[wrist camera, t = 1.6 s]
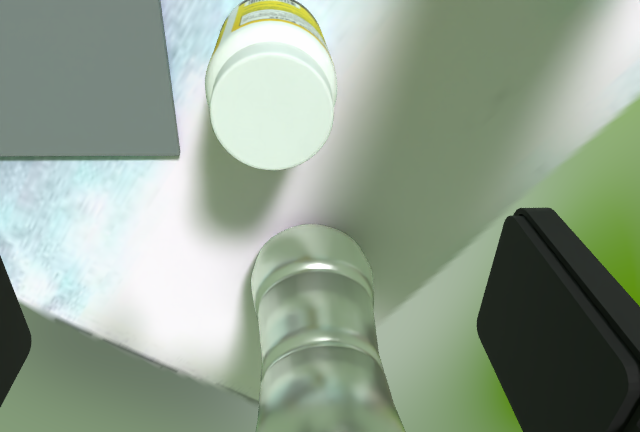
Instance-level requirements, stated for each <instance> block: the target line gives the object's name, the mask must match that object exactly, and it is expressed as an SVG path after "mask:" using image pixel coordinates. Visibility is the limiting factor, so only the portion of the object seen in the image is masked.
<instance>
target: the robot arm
mask: <svg viewBox="0 0 640 432" xmlns="http://www.w3.org/2000/svg"><path fill="white" fill-rule="evenodd" d="M477 331H478V335H479V338H480V340H481V343H482V345H483V347H484V349H485V351H486V353H487V355H488V357H489V360H490V362H491V364H492V366H493V368H494V370H495V373H496V375H497V377H498V379H499V381H500V383H501V385H502V388H503V390H504V392H505V394H506V396H507V398H508V400H509V403H510V405H511V407H512V409H513V411H514V413H515V415H516V417H517V420H518V422H519V424H520V426H521V428H522V430H523V432H640V307H639V305H638V304H637V303H636V302H635V301H634V300H633V299H632V298H631V296H630V295H629V294H628V293H627V292H626V291H625V290H624V289H623V287H622V286H621V285H620V284H619V283H618V282H617V281H616V280H615V278H613V276H612V275H611V274H610V273H609V272H608V271H607V270H606V268H605V267H604V266H603V265H602V264H601V263H600V262H599V261H598V259H597V258H596V257H595V256H594V255H593V254H592V253H591V252H590V250H589V249H588V248H587V247H586V246H585V245H584V244H583V243H582V241H581V240H580V239H579V238H578V237H577V236H576V235H575V234H574V232H573V231H572V230H571V229H570V228H569V227H568V226H567V225H566V223H565V222H564V221H563V220H562V219H561V218H560V217H559V216H558V215H557V213H556V212H555V211H554V210H552V209H551V208H520V209H518V210H516V212H515V213H514V215H513V216H508V217H507V218H506V220H505V222H504V225H503V229H502V233H501V236H500V239H499V243H498V247H497V250H496V254H495V257H494V261H493V265H492V268H491V272H490V275H489V279H488V282H487V286H486V290H485V293H484V297H483V300H482V304H481V308H480V311H479V314H478V318H477ZM30 348H31V334H30V331H29V328H28V326H27V323H26V320H25V318H24V316H23V313H22V310H21V308H20V305H19V302H18V300H17V297H16V295H15V292H14V290H13V287H12V284H11V282H10V279H9V277H8V274H7V272H6V269H5V266H4V264H3V261H2V259H1V256H0V407H1V405H2V403H3V401H4V399H5V397H6V395H7V394H8V392H9V390H10V388H11V386H12V384H13V382H14V380H15V379H16V377H17V374H18V373H19V371H20V369H21V367H22V365H23V363H24V362H25V360H26V358H27V356H28V354H29V351H30Z"/></svg>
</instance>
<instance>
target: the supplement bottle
mask: <svg viewBox="0 0 640 432" xmlns="http://www.w3.org/2000/svg"><path fill="white" fill-rule="evenodd" d="M205 90H206V98H207V102H208V106H209V108H210V119H211V124H212V127H213V130H214V133H215V135H216V137H217V139H218V140H219V142H220V143H221V145H222V146H223V147H224V148H225V149H226V151H227V152H228V153H229V154H231V155H232V156H233V157H234V158H236V159H237V160H239V161H240V162H242V163H244V164H246V165H248V166H251V167H254V168H258V169H263V170H283V169H288V168H292V167H295V166H297V165H300V164H302V163H304V162H305V161H307V160H308V159H310V158H311V157H312V156H314V155H315V154H316V153H317V152H318V151H319V150H320V149H321V147H322V146H323V145H324V143H325V142H326V140H327V138H328V136H329V134H330V131H331V128H332V124H333V118H334V106H335V102H336V96H337V78H336V72H335V68H334V65H333V62H332V59H331V56H330V54H329V51H328V48H327V46H326V43H325V40H324V37H323V35H322V32H321V30H320V27H319V25H318V23H317V21H316V20H315V18H314V17H313V15H312V14H311V13H310V12H309V10H308V9H307V8H305V7H304V6H303V5H302V4H300V3H299V2H297V1H296V0H244V1H243V2H241V3H240V4H238V5H237V6H236V7H235V8H234V9H233V10H232V11H231V13H230V14H229V15H228V17H227V18H226V20H225V22H224V24H223V26H222V28H221V31H220V34H219V37H218V40H217V43H216V46H215V49H214V52H213V54H212V57H211V59H210V62H209V65H208V68H207V71H206V77H205Z"/></svg>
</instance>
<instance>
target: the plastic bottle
mask: <svg viewBox="0 0 640 432" xmlns="http://www.w3.org/2000/svg"><path fill="white" fill-rule="evenodd" d="M251 288H252V295H253V302H254V308H255V312H256V315H257V319H258V322H259V333H260V344H261V355H262V372H261V388H260V398H259V411H258V422H257V427H256V432H405V429H404V427H403V425H402V422H401V420H400V418H399V415H398V412H397V410H396V408H395V405H394V403H393V399H392V396H391V393H390V389H389V386H388V383H387V380H386V376H385V373H384V370H383V367H382V363H381V359H380V356H379V352H378V344H377V336H376V329H375V321H374V313H373V306H374V285H373V274H372V270H371V267H370V265H369V263H368V261H367V259H366V257H365V256H364V254H363V252H362V250H361V248H360V247H359V245H358V244H357V243H356V242H355V241H354V240H353V239H352V238H351V237H349V236H348V235H347V234H345V233H343V232H341V231H339V230H337V229H334V228H331V227H327V226H324V225H317V224H304V225H299V226H294V227H291V228H289V229H286V230H284V231H282V232H280V233H278V234H277V235H275V236H274V237H272V238H271V239H270V240H269V241H268V242H267V243H266V244H265V245H264V246H263V248H262V249H261V250H260V252H259V255H258V257H257V259H256V263H255V266H254V269H253V272H252V278H251Z"/></svg>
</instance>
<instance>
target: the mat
mask: <svg viewBox="0 0 640 432" xmlns="http://www.w3.org/2000/svg"><path fill="white" fill-rule="evenodd" d="M179 154H180V146H179V138H178V131H177V123H176V115H175V108H174V100H173V93H172V85H171V77H170V70H169V62H168V55H167V47H166V40H165V32H164V24H163V17H162V9H161V2H160V0H0V156H179Z"/></svg>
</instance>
